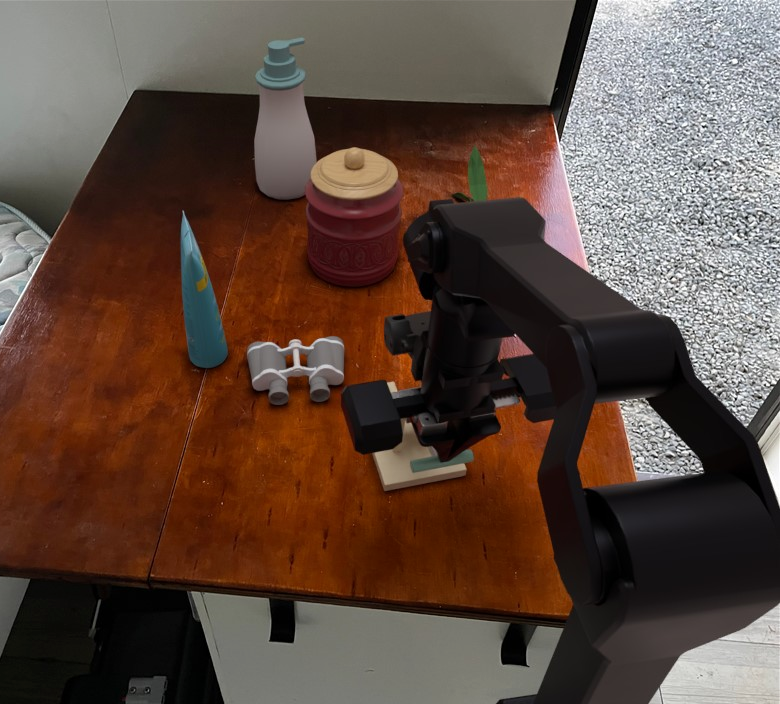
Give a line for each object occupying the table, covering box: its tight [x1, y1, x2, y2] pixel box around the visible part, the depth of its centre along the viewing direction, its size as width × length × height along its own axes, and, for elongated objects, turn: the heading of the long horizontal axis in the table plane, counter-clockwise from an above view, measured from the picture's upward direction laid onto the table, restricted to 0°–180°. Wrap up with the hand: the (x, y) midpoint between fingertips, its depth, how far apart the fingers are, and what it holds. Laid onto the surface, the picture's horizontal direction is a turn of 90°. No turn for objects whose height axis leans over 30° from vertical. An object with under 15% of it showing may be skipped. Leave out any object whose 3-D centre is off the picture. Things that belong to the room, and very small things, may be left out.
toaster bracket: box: [371, 381, 468, 492], centre depth 77 cm, size 12×9×8 cm
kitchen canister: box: [304, 146, 404, 288], centre depth 95 cm, size 13×13×18 cm
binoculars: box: [246, 335, 346, 406], centre depth 85 cm, size 12×8×4 cm, turn 94°
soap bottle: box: [253, 36, 317, 201], centre depth 107 cm, size 10×10×23 cm
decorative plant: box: [451, 145, 489, 202], centre depth 101 cm, size 6×8×30 cm
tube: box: [180, 210, 229, 369], centre depth 82 cm, size 7×5×19 cm, turn 19°
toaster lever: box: [398, 386, 475, 473], centre depth 72 cm, size 11×6×2 cm, turn 12°
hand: (442, 458), depth 67 cm, fingers closed, pressing on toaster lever
